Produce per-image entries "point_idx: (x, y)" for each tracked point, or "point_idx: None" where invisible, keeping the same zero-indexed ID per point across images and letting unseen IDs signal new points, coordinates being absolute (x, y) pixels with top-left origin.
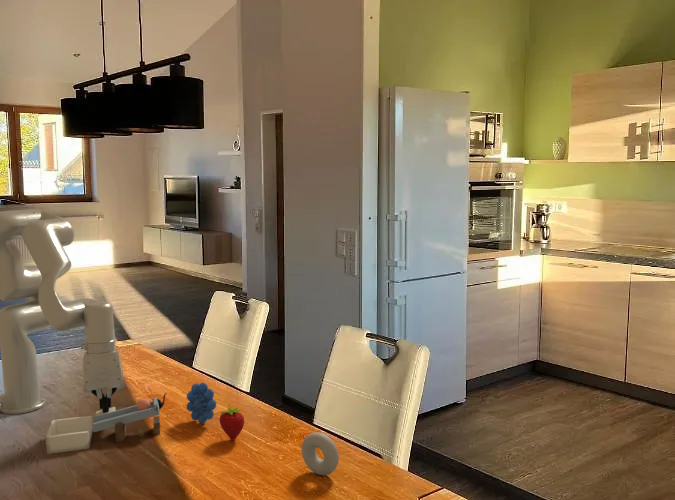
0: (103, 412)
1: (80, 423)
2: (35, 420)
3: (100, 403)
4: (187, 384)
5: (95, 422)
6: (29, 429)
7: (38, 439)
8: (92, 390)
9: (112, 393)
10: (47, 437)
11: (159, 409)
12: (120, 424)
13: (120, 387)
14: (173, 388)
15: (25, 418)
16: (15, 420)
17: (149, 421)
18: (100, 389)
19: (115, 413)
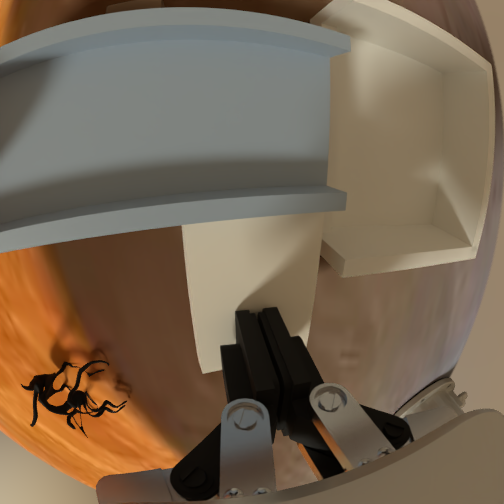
0: (269, 307)
1: (380, 241)
2: (430, 353)
3: (305, 362)
4: (76, 465)
5: (319, 155)
6: (456, 300)
7: None
8: (407, 436)
9: (212, 441)
10: (487, 61)
11: (53, 373)
12: (122, 5)
13: (132, 488)
14: (97, 463)
15: (438, 362)
16: (453, 352)
17: (48, 285)
18: (350, 463)
19: (160, 198)
